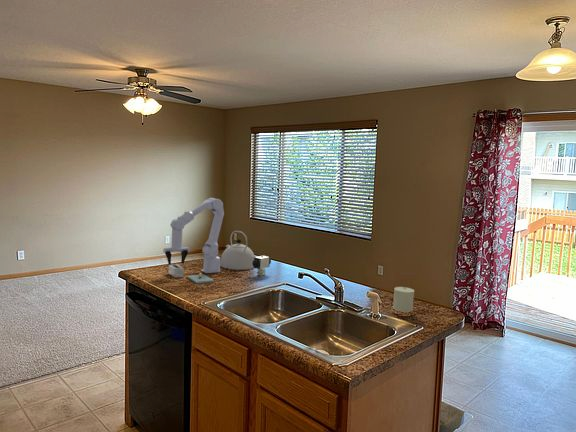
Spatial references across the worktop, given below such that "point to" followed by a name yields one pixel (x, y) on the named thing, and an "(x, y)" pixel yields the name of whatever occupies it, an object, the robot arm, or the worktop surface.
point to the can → (403, 299)
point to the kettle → (237, 256)
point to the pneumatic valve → (261, 264)
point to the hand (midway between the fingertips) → (176, 263)
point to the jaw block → (176, 270)
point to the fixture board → (200, 279)
